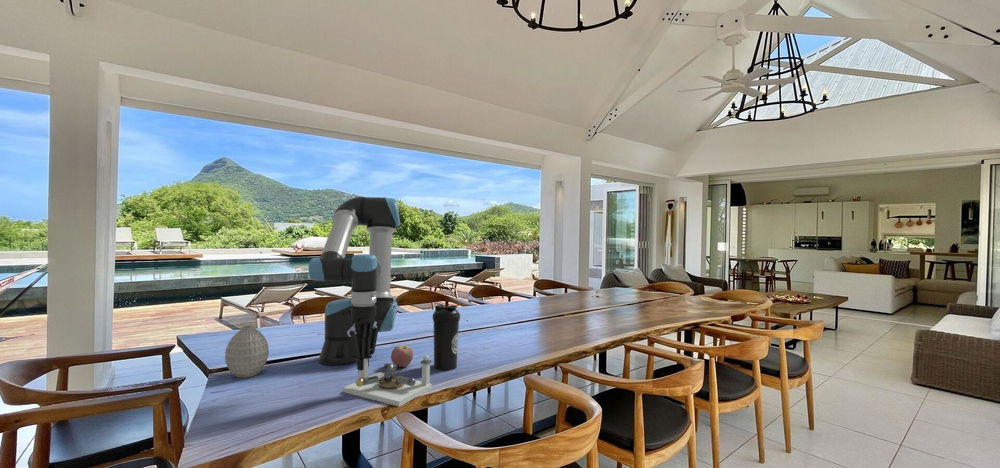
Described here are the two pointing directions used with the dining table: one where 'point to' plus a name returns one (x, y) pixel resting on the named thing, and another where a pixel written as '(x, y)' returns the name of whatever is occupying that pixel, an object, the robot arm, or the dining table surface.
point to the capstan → (387, 379)
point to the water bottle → (446, 337)
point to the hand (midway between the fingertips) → (362, 379)
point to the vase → (246, 352)
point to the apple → (402, 355)
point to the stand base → (397, 394)
